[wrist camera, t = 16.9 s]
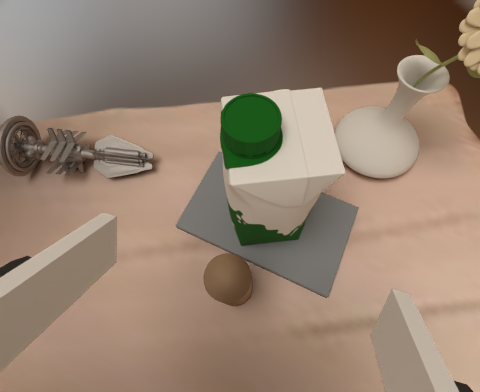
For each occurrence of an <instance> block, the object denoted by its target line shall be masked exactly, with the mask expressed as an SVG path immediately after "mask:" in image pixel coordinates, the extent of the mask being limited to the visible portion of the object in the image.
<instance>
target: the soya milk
mask: <svg viewBox="0 0 480 392" xmlns="http://www.w3.org/2000/svg"><path fill="white" fill-rule="evenodd" d="M220 141H221V148H222V156H223V176H224V183H225V189H226V195H227V201H228V207H229V212H230V216H231V220H232V223H233V226H234V228H235V231H236V234H237V237H238V239H239V242H240V245H241V246H245V245H254V244H263V243H272V242H281V241H290V240H298V239H299V237H300V234H301V232H302V230H303V227H304V225H305V223H306V220H307V218H308V216H309V214H310V212H311V210H312V208H313V207H314V205H315V203H316V201H317V200H318V198H319V196H320V194H321V193H322V191H324V190H325V189H326V188H327V187H329V186H330V185H331V184H332V183H334V182H335V181H336V180H337V179H339V178H340V177H341V176H342V175H344V174H345V169H344V165H343V162H342V158H341V155H340V151H339V148H338V144H337V140H336V137H335V133H334V130H333V126H332V123H331V119H330V116H329V112H328V109H327V105H326V101H325V98H324V94H323V91H322V88H314V89H305V90H294V91H290V90H289V89H283V90H276V91H272V92H263V93H249V94H243V95H237V96H228V97H222V99H221V133H220Z"/></svg>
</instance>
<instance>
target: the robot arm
mask: <svg viewBox="0 0 480 392" xmlns="http://www.w3.org/2000/svg"><path fill="white" fill-rule="evenodd" d="M116 246H117V216H114V215H111V214H107V213H101V214H100V215H98V216H96V217H95V218H93V219H92V220H90V221H88V222H87V223H85V224H84V225H82V226H81V227H79V228H77V229H76V230H74V231H73V232H71V233H70V234H68V235H66V236H65V237H63V238H62V239H60V240H59V241H57V242H55V243H54V244H52V245H51V246H49V247H48V248H46V249H44V250H43V251H41V252H40V253H38V254H37V255H35V256H33V257H29V256H25V257H23V258H20V259H17V260H14V261H11V262H9V263H8V264H6V265H4V266H3V267H1V268H0V372H1V371H2V370H3V369H4V368H5V367H6V366H7V365H8V364H9V363H10V362H12V361H13V360H14V359H15V358H16V357H17V356H18V355H19V354H20V353H21V352H22V351H23V350H24V349H25V348H26V347H27V346H28V345H29V344H31V343H32V342H33V341H34V340H35V339H36V338H37V337H38V336H39V335H40V334H41V333H42V332H43V331H44V330H45V329H46V328H47V327H49V326H50V325H51V324H52V323H53V322H54V321H55V320H56V319H57V318H58V317H59V316H60V315H61V314H62V313H63V312H64V311H65V310H67V309H68V308H69V307H70V306H71V305H72V304H73V303H74V302H75V301H76V300H77V299H78V298H79V297H80V296H81V295H82V294H83V293H84V292H86V291H87V290H88V289H89V288H90V287H91V286H92V285H93V284H94V283H95V282H96V281H97V280H98V279H99V278H100V277H101V276H102V275H104V274H105V273H106V272H107V271H108V270H109V269H110V268H111V267H112V266H113V265H114V264H115V263H116ZM371 339H372V343H373V346H374V350H375V354H376V358H377V362H378V366H379V369H380V373H381V377H382V381H383V385H384V389H385V392H473V391H472V390H471V389H470V387H469V386H468V385H466V384H463V383H460V382H456V381H454V380H453V378H452V376H451V374H450V372H449V370H448V368H447V366H446V364H445V362H444V360H443V358H442V356H441V354H440V352H439V350H438V348H437V346H436V344H435V342H434V340H433V338H432V336H431V334H430V332H429V330H428V328H427V326H426V324H425V322H424V320H423V318H422V316H421V314H420V312H419V310H418V308H417V306H416V304H415V302H414V300H413V298H412V296H411V294H410V293H406V292H402V291H398V290H394V289H392V290H391V292H390V294H389V296H388V298H387V301H386V303H385V305H384V307H383V309H382V311H381V314H380V316H379V318H378V320H377V322H376V324H375V326H374V329H373V331H372V333H371Z"/></svg>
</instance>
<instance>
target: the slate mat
mask: <svg viewBox="0 0 480 392" xmlns="http://www.w3.org/2000/svg"><path fill="white" fill-rule="evenodd" d="M358 208H359V207H356V206H354V205H351V204H349V203H346V202H344V201H341V200H339V199H336V198H334V197H331V196H329V195H326V194H324V193H321V194H320V196H319V198H318V200H317V201H316V203H315V205H314V207H313V208H312V210H311V212H310V214H309V216H308V218H307V220H306V223H305V225H304V227H303V230H302V232H301V234H300V237H299V239H298V240H290V241H281V242H272V243H263V244H254V245H245V246H241V245H240V242H239V239H238V237H237V234H236V231H235V228H234V226H233V223H232V220H231V216H230V212H229V207H228V201H227V195H226V189H225V183H224V176H223V156H222V152H218V154H217V156H216V157H215V159H214V161H213V162H212V164H211V166H210V168H209V169H208V171H207V173H206V174H205V176H204V178H203V180H202V181H201V183H200V185H199V186H198V188H197V190H196V192H195V193H194V195H193V197H192V199H191V200H190V202H189V204H188V205H187V207H186V209H185V211H184V212H183V214H182V216H181V217H180V219H179V221H178V223H177V224H176V227H177V228H178V229H181V230H183V231H185V232H187V233H189V234H191V235H193V236H195V237H198V238H200V239H202V240H204V241H206V242H208V243H210V244H212V245H215V246H217V247H219V248H221V249H223V250H225V251H227V252H229V253H232V254H235V255H237V256H239V257H241V258H242V259H244V260H246V261H249V262H251V263H253V264H255V265H257V266H259V267H261V268H263V269H266V270H268V271H270V272H272V273H274V274H276V275H278V276H281V277H283V278H285V279H287V280H289V281H291V282H293V283H295V284H298V285H300V286H302V287H304V288H306V289H308V290H310V291H312V292H315V293H317V294H319V295H321V296H323V297H325V298H327V297H328V296H329V293H330V290H331V287H332V284H333V281H334V278H335V275H336V272H337V269H338V266H339V263H340V260H341V258H342V255H343V252H344V249H345V246H346V243H347V240H348V237H349V234H350V231H351V228H352V225H353V222H354V219H355V216H356V214H357V211H358Z"/></svg>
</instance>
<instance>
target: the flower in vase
mask: <svg viewBox="0 0 480 392" xmlns="http://www.w3.org/2000/svg"><path fill="white" fill-rule="evenodd" d="M459 30H460V31H461V32H463V34H462V35H461V36H460V38H459V41H458V43H459V45H460V46H464V47H463V48H462V49H461V50H460V52H459V53H458V55H457V56H455V57H453V58H451V59H449V60H447V61H445V62H444V63H441V62H440V61H439V59H438V57H437V56H436V55H435V54H434V53H432V52H431V51H430V50H429V49H427V48H425V47H423V46H420V45H419V44H418V42H417V40H416V44H417V46H418V47H419V48H420V50H421V51H422V53H423V54H424V55H425V56H423V55H422V56H421V55H413V56H409V57H406V58H404V59H403V60H402V61H401V62H400V63H399V65H398V68H397V73H398V77H399V85H398V88H397V91H396V94H395V96H394V98H393V100H392V101H391V103H390V104H389V106H388V107H387V108H384V107H375V106H368V107H361V108H358V109H355V110H353V111H351V112H349V113H348V114H347V115H345V116H344V117H343V118H342V119H341V120H340V121H339V122H338V124H337V125H336V128H335V131H334V133H335V137H336V140H337V144H338V148H339V151H340V155H341V158H342V160H343V161H344V162H345V163H346V164H347V165H348V166H349V167H350V168H352V169H353V170H354V171H356V172H358V173H360V174H363V175H365V176H369V177H374V178H392V177H396V176H399V175H401V174H403V173H405V172H406V171H408V170H409V169H410V168H411V167H412V166H413V165H414V163H415V161H416V159H417V156H418V152H419V139H418V136H417V133H416V131H415V129H414V128H413V126H412V125H411V124H410V122H409V121H408V120H407V119H406V118H405V116H406V114H407V113H408V112H409V110H410V109H411V108H412V107H413V106H414V105H415V104H416V103H417V102H418V101H419V100H420V99H422V98H423V97H424V96H426V95H428V94H431V93H435V92H438V91H441V90H442V89H444V88H445V87H446V86H447V85H448V83H449V73H448V71H447V69H446V68H445V65H447V64H449V63H451V62H453V61H455V60H457V59H459V60H461V61H463V60H464V65H465V66H466V67H467V71H468V73H469V74H470V75H471V76H472V77H476V78H480V0H477V1H476V3H475V4H474V9H473V10H471V11H470V12H469V13H468V15H467V18H466V19H464V20H463V21H462V22H461V23H460V26H459Z"/></svg>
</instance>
